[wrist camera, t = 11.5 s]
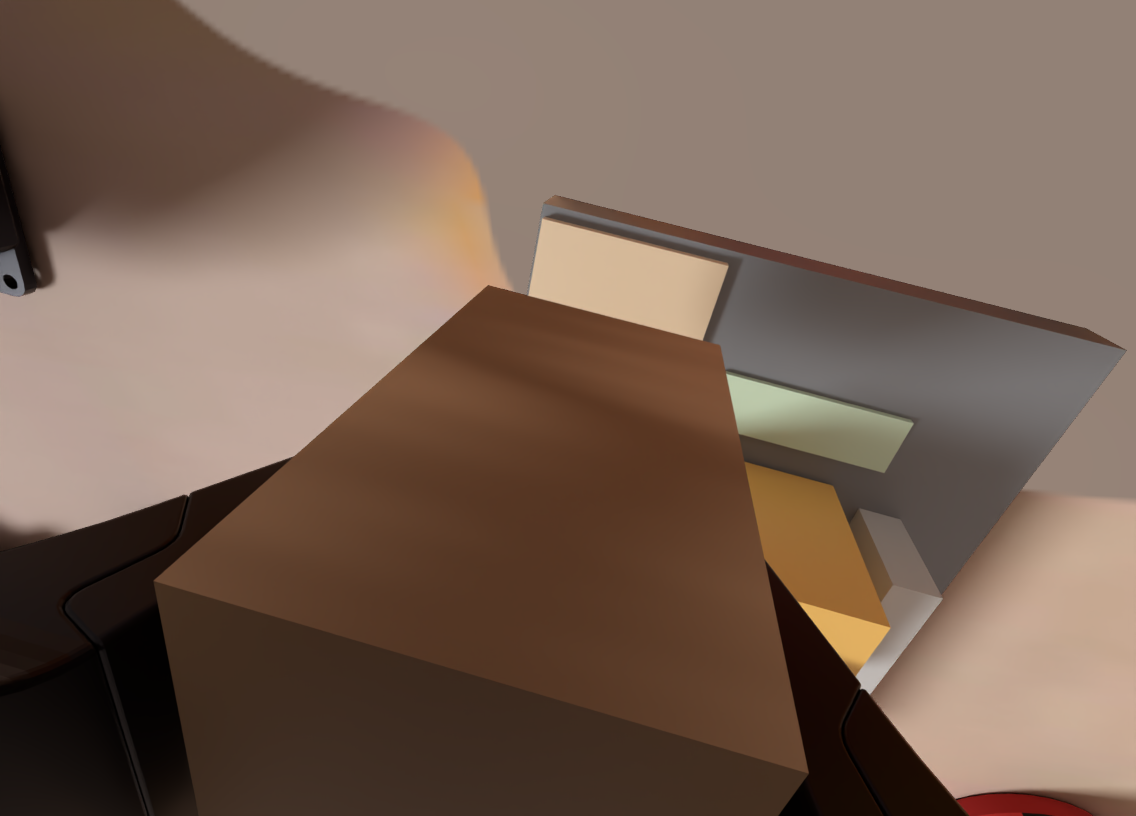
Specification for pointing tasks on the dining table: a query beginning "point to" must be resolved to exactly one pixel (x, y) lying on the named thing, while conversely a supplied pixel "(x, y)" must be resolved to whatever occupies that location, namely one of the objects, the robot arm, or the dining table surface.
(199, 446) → the dining table surface
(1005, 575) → the dining table surface
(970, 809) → the canned food
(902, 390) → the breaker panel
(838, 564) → the knob
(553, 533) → the walnut block
